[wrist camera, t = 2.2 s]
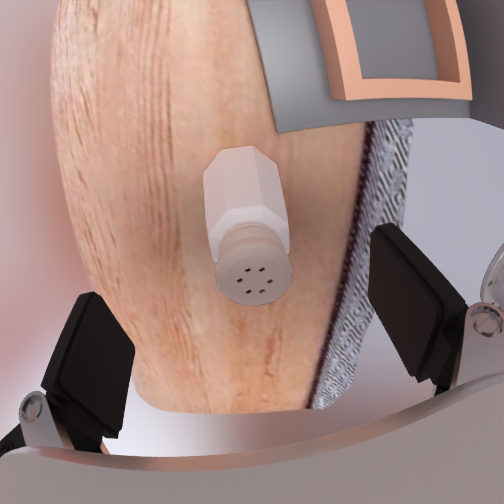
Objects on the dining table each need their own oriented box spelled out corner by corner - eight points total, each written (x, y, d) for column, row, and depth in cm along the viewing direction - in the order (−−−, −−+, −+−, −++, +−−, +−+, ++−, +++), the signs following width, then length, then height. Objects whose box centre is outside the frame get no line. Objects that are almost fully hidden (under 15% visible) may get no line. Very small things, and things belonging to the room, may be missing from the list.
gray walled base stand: (447, -27, 10) (501, -39, 4) (473, 116, 17) (532, 137, 11) (232, -48, 10) (235, -100, 4) (276, 131, 18) (301, 154, 12)
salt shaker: (293, 195, 20) (346, 297, 11) (227, 229, 21) (229, 348, 12) (257, 129, 18) (291, 179, 8) (186, 169, 19) (147, 259, 9)
